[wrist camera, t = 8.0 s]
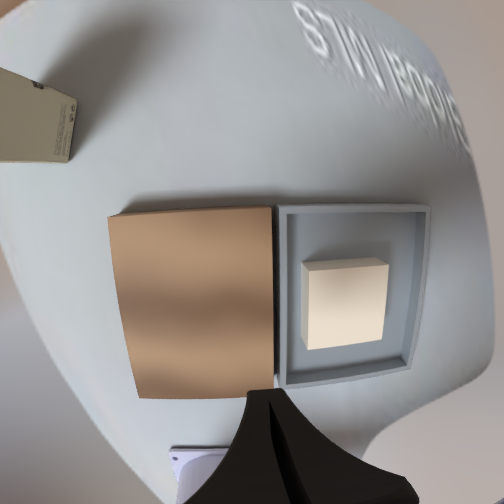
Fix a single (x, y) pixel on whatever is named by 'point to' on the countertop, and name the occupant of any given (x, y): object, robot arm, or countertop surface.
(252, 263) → the plate
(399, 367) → the tray
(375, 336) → the tile
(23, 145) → the box
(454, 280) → the countertop surface
